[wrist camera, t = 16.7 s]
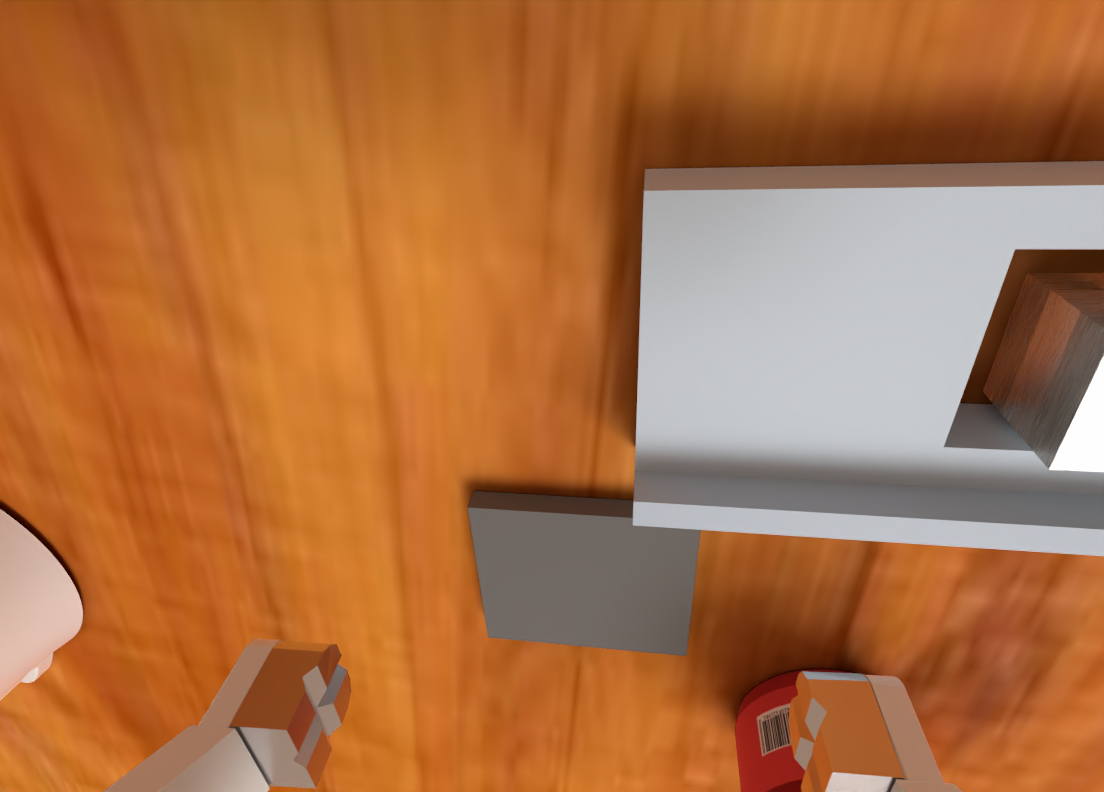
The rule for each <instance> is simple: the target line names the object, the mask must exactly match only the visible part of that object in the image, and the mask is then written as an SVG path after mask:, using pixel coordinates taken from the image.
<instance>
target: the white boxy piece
mask: <svg viewBox="0 0 1104 792" xmlns="http://www.w3.org/2000/svg"><path fill="white" fill-rule="evenodd" d="M983 393H984V394H985V395H986V396H987V397H988V399H989V400H990V401H991V402H992V403H993V404H994V406H995V407H996V408H997V409H998V410H999V412H1000V413H1001V414H1002V415H1003V416H1004V417H1005V419H1006V420H1007V421H1008V422H1009V423H1010V424H1011V426H1012V427H1013V428H1014V429H1015V430H1016V432H1017V433H1018V434H1019V435H1020V436H1021V437H1022V439H1023V440H1024V441H1025V442H1026V443H1027V444H1028V446H1029V447H1030V448H1031V449H1032V450H1033V452H1034V453H1035V454H1036V455H1037V456H1038V457H1039V459H1040V460H1041V461H1042V462H1043V463H1044V464H1045V466H1046V467H1047V468H1048V469H1049V470H1067V471H1090V472H1104V273H1027V274H1026V277H1025V279H1024V282H1023V285H1022V287H1021V290H1020V293H1019V295H1018V298H1017V301H1016V303H1015V306H1014V309H1013V311H1012V314H1011V317H1010V319H1009V322H1008V325H1007V327H1006V330H1005V333H1004V335H1003V338H1002V341H1001V343H1000V346H999V349H998V351H997V354H996V357H995V359H994V362H993V365H992V368H991V370H990V373H989V376H988V378H987V381H986V384H985V386H984V389H983Z"/></svg>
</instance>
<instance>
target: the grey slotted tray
mask: <svg viewBox="0 0 1104 792" xmlns="http://www.w3.org/2000/svg"><path fill="white" fill-rule="evenodd" d="M1015 249H1104V161H1069V162H1011V163H954V164H896V165H839V166H781V167H724V168H667V169H645V179H644V199H643V230H642V262H641V294H640V325H639V357H638V388H637V420H636V451H635V480H634V503H633V525H634V526H650V527H665V528H680V529H696V530H711V531H726V532H742V533H757V534H772V535H788V536H803V537H818V538H834V539H849V540H864V541H880V542H895V543H910V544H926V545H941V546H956V547H972V548H987V549H1002V550H1018V551H1033V552H1049V553H1064V554H1079V555H1095V556H1104V472H1090V471H1067V470H1049V469H1048V468H1047V467H1046V466H1045V464H1044V463H1043V462H1042V461H1041V460H1040V459H1039V457H1038V456H1037V455H1036V454H1035V453H1034V452H1033V450H1032V449H1031V448H1030V447H1029V446H1028V444H1027V443H1026V442H1025V441H1024V440H1023V439H1022V437H1021V436H1020V435H1019V434H1018V433H1017V432H1016V430H1015V429H1014V428H1013V427H1012V426H1011V424H1010V423H1009V422H1008V421H1007V420H1006V419H1005V417H1004V416H1003V415H1002V414H1001V413H1000V412H999V410H998V409H997V408H996V407H995V406H994V404H967V403H960V401H961V398H962V395H963V392H964V389H965V387H966V384H967V381H968V378H969V376H970V373H971V370H972V367H973V365H974V362H975V359H976V356H977V354H978V351H979V348H980V345H981V342H982V340H983V337H984V334H985V331H986V329H987V326H988V323H989V320H990V318H991V315H992V312H993V309H994V306H995V304H996V301H997V298H998V295H999V293H1000V290H1001V287H1002V284H1003V282H1004V279H1005V276H1006V273H1007V270H1008V268H1009V265H1010V262H1011V259H1012V257H1013V254H1014V251H1015Z"/></svg>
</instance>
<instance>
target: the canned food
mask: <svg viewBox="0 0 1104 792" xmlns="http://www.w3.org/2000/svg"><path fill="white" fill-rule="evenodd" d="M802 671H809V672H833V673H850V672H845V671H839V670H830V669H809V670H800V671H794V672H789V673H785V674H782V675H779V676H776V677H773V678H771V679H769V680H767V681H765V682H763V683H761V684H760V685H758V686H757V687H755V688H754V689H752V690H751V691H750V692H749V693H748V694H747V695H746V696H745V697H744V699H743V701H742V703H741V704H740V706H739V711H738V716H737V721H736V727H735V737H736V747H737V756H738V766H739V776H740V785H741V792H802V790H801V784H802V781H803V778H804V774H805V770H804V769H803V768H802V766H801V765H800V764H799V763H798V762H797V761H796V759H795V758H794V754H793V749H792V745H791V739H790V731H789V709H790V704H791V700H792V699H793V698H794V697H796V696H797V695H798V691H797V687H796V681H797V677H798V674H799V673H800V672H802Z"/></svg>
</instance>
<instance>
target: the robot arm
mask: <svg viewBox="0 0 1104 792" xmlns="http://www.w3.org/2000/svg"><path fill="white" fill-rule="evenodd" d="M82 620H83V609H82V604H81V600H80V597H79V594H78V592H77V590H76V587H75V586H74V584H73V582H72V580H71V579H70V577H69V575H68V574H67V572H66V571H65V570H64V568H63V567H62V565H61V564H60V563H59V562H58V560H57V559H56V558H55V557H54V556H53V555H52V553H51V552H50V551H49V550H48V549H47V548H46V547H45V546H44V545H43V544H42V543H41V542H40V541H39V540H38V539H37V538H36V537H35V536H34V535H33V534H31V533H30V532H29V531H28V530H27V529H26V528H24V527H23V526H22V525H21V524H20V523H18V522H17V521H16V520H15V519H13V518H12V517H11V516H9V515H8V514H7V513H5V512H4V511H2V510H1V509H0V700H1V699H2V698H3V697H4V696H5V695H7V694H8V693H9V692H10V691H11V690H12V689H13V688H14V687H15V686H16V685H18V684H19V683H20V682H24V683H30V682H33V681H35V680H36V679H37V678H38V677H39V676H41V675H42V674H43V673H44V672H45V671H46V670H47V669H48V668H49V667H50V665H51V663H52V658H53V652H54V651H56V650H57V649H58V648H60V647H61V646H62V645H64V644H65V643H66V642H68V641H69V640H70V639H72V638H73V637H74V636H75V635H76V634H77V633H78V631H79V629H80V627H81V624H82ZM340 658H341V653H340V651H339V649H338V647H337V644H325V643H311V642H296V641H284V640H271V639H254V640H253V641H252V642H251V643H250V644H248V645H247V646H246V647H245V649H244V650H243V652H242V654H241V655H240V657H239V659H238V660H237V662H236V664H235V665H234V667H233V669H232V670H231V672H230V674H229V675H228V677H227V679H226V680H225V682H224V684H223V685H222V687H221V689H220V690H219V692H218V694H217V695H216V697H215V699H214V700H213V702H212V704H211V705H210V707H209V709H208V710H207V712H206V714H205V715H204V717H203V719H202V720H201V722H200V724H199V725H190V726H189V727H187V728H186V729H185V730H183V731H182V732H181V733H179V734H178V735H177V736H176V737H174V738H173V739H172V740H170V741H169V742H168V743H166V744H165V745H164V746H162V747H161V748H160V749H159V750H157V751H156V752H155V753H153V754H152V755H151V756H149V757H148V758H147V759H145V760H144V761H143V762H142V763H140V764H139V765H138V766H136V767H135V768H134V769H132V770H131V771H130V772H128V773H127V774H126V775H125V776H123V777H122V778H121V779H119V780H118V781H117V782H115V783H114V784H113V785H111V786H110V787H109V788H108V789H106V790H105V791H104V792H267V791H268V790H269V789H270V787H269V786H284V787H302V788H316V787H317V784H318V782H319V780H320V777H321V775H322V772H323V770H324V767H325V765H326V762H327V760H328V757H329V755H330V752H331V750H332V749H331V745H330V740H329V735H330V734H331V733H332V732H334V731H335V730H336V729H337V728H338V727H339V726H340V725H341V724H342V722H343V719H344V717H345V714H346V711H347V709H348V704H349V699H350V693H351V685H350V677H349V674H348V672H347V670H346V669H344V668H343V667H342V666H340V665H339V664H338V662H339V660H340ZM796 687H797V691H798V695H797V696H796V697H794V698H793V699H792V700H791V704H790V709H789V731H790V739H791V745H792V749H793V754H794V758H795V759H796V761H797V762H798V763H799V764H800V765H801V766H802V768H803V769H804V770H805V774H804V778H803V781H802V784H801V790H802V792H962V791H961V790H960V789H959V788H958V787H957V786H956V785H955V784H951V783H944V781H943V778H942V776H941V773H940V771H939V769H938V766H937V764H936V761H935V759H934V757H933V754H932V752H931V749H930V747H929V744H928V742H927V740H926V737H925V735H924V732H923V730H922V728H921V725H920V723H919V720H918V718H917V716H916V713H915V711H914V708H913V706H912V704H911V701H910V699H909V696H908V694H907V692H906V689H905V687H904V684H903V683H902V682H901V681H900V680H899V679H898V678H897V677H895V676H881V675H862V674H857V673H833V672H809V671H802V672H800V673H799V674H798V677H797V681H796Z"/></svg>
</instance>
